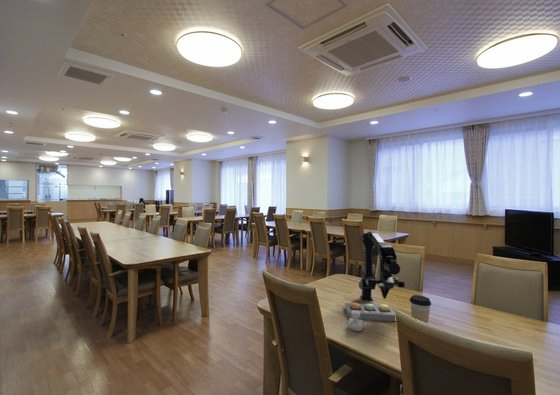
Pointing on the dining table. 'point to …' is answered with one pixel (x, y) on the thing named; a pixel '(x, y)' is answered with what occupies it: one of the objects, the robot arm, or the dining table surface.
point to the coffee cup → (420, 307)
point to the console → (371, 313)
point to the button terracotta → (355, 306)
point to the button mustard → (384, 308)
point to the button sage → (369, 307)
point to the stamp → (355, 321)
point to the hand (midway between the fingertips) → (384, 298)
